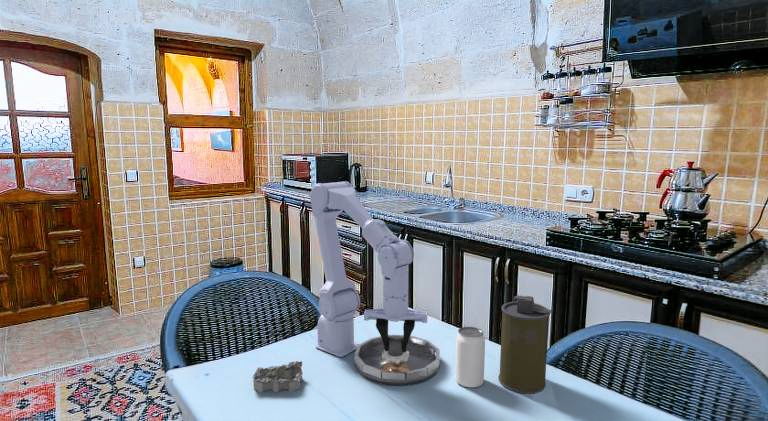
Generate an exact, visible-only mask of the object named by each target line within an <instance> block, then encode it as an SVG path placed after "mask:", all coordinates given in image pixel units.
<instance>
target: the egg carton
mask: <svg viewBox="0 0 768 421" xmlns="http://www.w3.org/2000/svg"><path fill="white" fill-rule="evenodd" d="M302 368H303V361H301V360H300V361H298V360H295V361H291V362H289V363H288V364H281V365H278V366H277V365H272V366H269V367H262V366H261V367H257V368H256V370H255V372H254V373H253V375H252V379H253V390H256V391H257V392H258V393H263V392H264V391H266V390H272V391H273V392H274V393H275V392H277V393H278V392H280V391H281V390H283V389H285V390H288V391H289V392H295V390H297V389H300V388H301V381H302V380H303V369H302ZM279 377H281V378H279ZM282 377H283V378H284V379H283V378H282ZM293 377H295V378H293ZM278 378H279V379H278ZM291 378H293V379H291ZM277 379H278V380H277Z"/></svg>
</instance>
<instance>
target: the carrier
mask: <svg viewBox="0 0 768 421" xmlns="http://www.w3.org/2000/svg"><path fill="white" fill-rule="evenodd" d="M390 336H401V337H403V342H404V334H388V338H389V337H390ZM359 344H360V345H358V347H357V349H356V350H355V352H354V354H353V355H354V356H353V357H354V360H353V361H354V363H355V368H356V371H357V372H358V373H359V374H360V375H361V376H362V377H363V378H364V379H366V380H368V381H371V382H373V383H376V384H381V385H387V386H394V387H395V386H396V387H397V386H398V387H401V386H412V385H418V384H420V383H424V382H426V381H428V380H430V379H432V378H434V377H435V376H436V374H437V373H438V372H439V370H440V366H441V365H440V360H441V358H440V356H441V354H440V351H441V350H440V348H439V347H437V346H436V345H434V344H433V343H432V342H431V341H430V340H428V339H424V338H421V337H418V336H415V335H410V337H409V340H408V343H407V349H406V351H409V357H408V360H407V361H406V362H405V361H403V362H400V363H395V362H386V360H385V359H382V353H384V350H385V349H384V344H383V341H382V338H381V335H379V336H375V337H370V338H369V339H367V340H365V341H363V342H362V343H359Z"/></svg>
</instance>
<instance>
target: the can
mask: <svg viewBox="0 0 768 421" xmlns="http://www.w3.org/2000/svg"><path fill="white" fill-rule="evenodd" d="M457 332H458V333H457V335H455V336H456V337H455V361H454V363H455V365H454V366H455V367H454V368H455V369H454V375H455V376H454V377H455V378H454V379H455V381H456V383H457V384H458V385H459V386H461V387H464V388H466V389H467V388H469V389H474V388H476V389H477V388H479V387H481V386H482V385H483V384H484V381H485V361H486V360H485V357H486V356H485V355H486V353H485V352H486V338H485V336H484V331H483V329H481V328H478V327H476V326H475V327H474V326H462V327H460V328H459V329H458V330H457Z"/></svg>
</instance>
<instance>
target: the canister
mask: <svg viewBox="0 0 768 421" xmlns="http://www.w3.org/2000/svg"><path fill="white" fill-rule="evenodd" d="M534 300H535V299H534V296H531V295H527V296H524V295H515V296H513V301H510V302H507V303H503V304H502V305H501V308H500V309H501V312H502V313H501V332H500V334H501V336H500V357H499V358H500V359H499V360H500V361H499V374H498V381H499V384H500V385H502V386H503V387H504V388H506V389H507V390H509V391H513V392H515V393H518V394H520V393H521V394H527V395H528V394H529V395H530V394H532V395H533V394H538V393H541V392H542V391H544V390H545V389H546V387H547V383H546V372H547V359H548V358H547V357H548V343H549V342H550V344H549V346H551V342H552V341H549V327H550V326H549V325H550V323H549V322H550V315H551V314H553V310H552V309H549V308H548V307H546V306H543V305H542V304H539V303H535V301H534ZM552 325H553V324H551V328H550V329H552ZM548 341H549V342H548ZM550 359H551V358H549V361H550Z"/></svg>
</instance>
